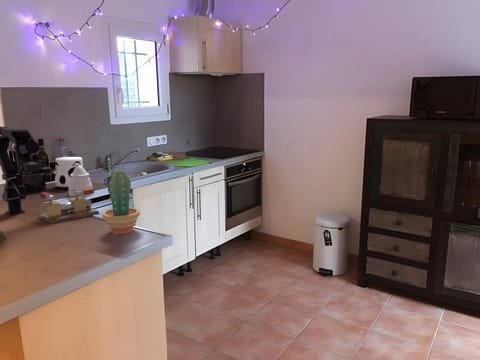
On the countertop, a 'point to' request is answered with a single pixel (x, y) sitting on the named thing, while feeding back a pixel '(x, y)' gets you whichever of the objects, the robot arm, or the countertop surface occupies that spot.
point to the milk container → (65, 170)
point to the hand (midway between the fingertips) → (31, 192)
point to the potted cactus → (119, 203)
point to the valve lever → (47, 196)
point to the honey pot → (79, 181)
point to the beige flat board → (70, 216)
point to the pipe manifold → (68, 205)
